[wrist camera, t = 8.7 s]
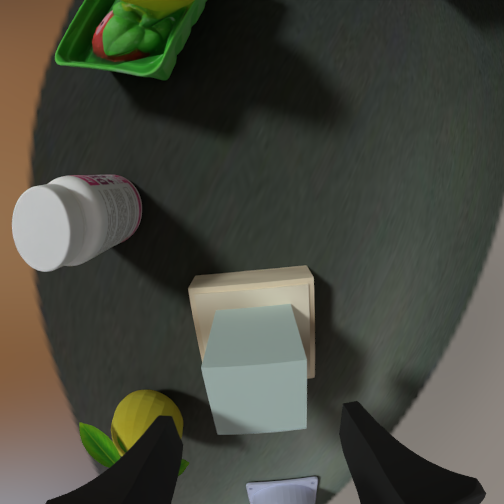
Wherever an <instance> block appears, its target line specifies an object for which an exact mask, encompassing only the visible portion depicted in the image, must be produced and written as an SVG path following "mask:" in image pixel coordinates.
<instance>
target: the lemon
mask: <svg viewBox="0 0 504 504" xmlns="http://www.w3.org/2000/svg"><path fill="white" fill-rule="evenodd" d="M159 415H162V416H172V417H173V420H174V423H175V426H176V428H177V431H178V433H179V436H180V438H181V437H182V432H183V418H182V416H181V413H180V411H179V408H178V407H177V406H176V405H175V403H174V402H173V401H172V400H171V399H170V398H168V397H167V396H166V395H164V394H162V393H160V392H157V391H154V390H138V391H135V392H132V393H130V394H129V395H127V396H126V397H125V398H124V399H123V400H122V401H121V402H120V403H119V405H118V406H117V408H116V411H115V414H114V417H113V420H112V425H111V434H112V439H113V442H112V441H111V440H110V439H109V437H108V436H107V435H105V434H104V433H103V432H101V431H100V430H98V429H97V428H95V427H94V426H91V425H87V424H83V423H79V424H80V436H81V440H82V443H83V445H84V447H85V448H86V450H87V451H88V453H89V454H90V455H91V456H92V457H93V458H94V459H95V460H96V461H98V462H99V463H101V464H102V465H104V466H106V467H109V468H110V467H111V466H112V465H113V464H115V463H116V462H117V461H118V460H119V459H120V455H121V456H123V455H124V454H125V453H126V452H127V451H128V450H129V449H130V448H131V447H132V446H133V445H134V444H135V443H136V441H137V440H138V439H139V438H140V437H141V436H142V435H143V433H144V432H145V431H146V430H147V429H148V427H149V426H150V425H151V424H152V423H153V421H154V420H155V419H156V418H157V417H158V416H159ZM119 454H120V455H119ZM188 465H189V462H187V461H186V460H184V459H182V460H181V466H180V470H179V474H178V476H179V475H181V474H182V473H183V472H184V470H185V469H186V467H187V466H188Z"/></svg>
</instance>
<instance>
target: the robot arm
mask: <svg viewBox="0 0 504 504" xmlns="http://www.w3.org/2000/svg"><path fill="white" fill-rule="evenodd" d="M339 435H340V439H341V444H342V448H343V453H344V456H345V459H346V461H347V464H348V467H349V470H350V473H351V475H352V478H353V481H354V483H355V486H356V489H357V492H358V495H359V499H360V503H361V504H480V503H481V502H482V501H483V499H484V498H485V495H486V492H485V491H484V489H483V487H482V485H481V484H480V483H479V481H478V480H477V479H476V478H473V477H469V476H465V475H461V474H458V473H455V472H452V471H449V470H447V469H444V468H442V467H440V466H438V465H436V464H433V463H431V462H429V461H427V460H426V459H424V458H422V457H420V456H419V455H417V454H416V453H414V452H413V451H411V450H409V449H408V448H407V447H405V446H404V445H402V444H401V443H400V442H399V441H398V440H396V439H395V438H394V437H393V436H392V435H390V434H389V433H388V432H387V431H386V430H385V429H384V428H383V427H382V426H381V425H380V424H379V423H378V422H377V421H376V420H375V419H374V418H373V417H372V416H371V415H370V414H369V413H368V412H367V411H366V410H365V409H364V408H363V406H362V405H361V404H360V403H359V402H358V401H354V402H349V403H344V404H343V409H342V417H341V425H340V433H339ZM182 450H183V444H182V441H181V438H180V436H179V433H178V431H177V428H176V426H175V423H174V420H173V417H172V416H162V415H159V416H158V417H157V418H156V419H155V420H154V421H153V423H152V424H151V425H150V426H149V427H148V429H147V430H146V431H145V432H144V433H143V435H142V436H141V437H140V438H139V439H138V440H137V441H136V443H135V444H134V445H133V446H132V447H131V448H130V449H129V450H128V451H127V452H126V453H125V454H124V455H123V456H122V457H121V458H120V459H119V460H118V461H117V462H116V463H115V464H113V465H112V466H111V467H110V468H109V469H107V470H106V471H105V472H103V473H102V474H101V475H99V476H98V477H96V478H95V479H93V480H92V481H90V482H88V483H87V484H85V485H83V486H81V487H80V488H78V489H76V490H74V491H71V492H69V493H67V494H65V495H62V496H59V497H56V498H54V499H51V500H48V501H47V502H46V504H171V501H172V497H173V493H174V490H175V486H176V482H177V478H178V474H179V470H180V466H181V460H182ZM317 484H318V478H317V477H307V478H299V479H291V480H281V481H269V482H252V483H247V484H246V488H247V492H248V496H249V500H250V503H251V504H315V500H316V492H317Z"/></svg>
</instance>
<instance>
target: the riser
mask: <svg viewBox="0 0 504 504" xmlns="http://www.w3.org/2000/svg"><path fill="white" fill-rule="evenodd" d="M188 292H189V297H190V303H191V308H192V314H193V319H194V324H195V329H196V334H197V339H198V344H199V349H200V354H201V358H202V363H203V359H204V355H205V351H206V347H207V343H208V339H209V335H210V331H211V327H212V323H213V319H214V315H215V312H216V310H226V309H239V308H251V307H262V306H273V305H283V304H291V307H292V310H293V314H294V317H295V321H296V324H297V327H298V331H299V334H300V338H301V341H302V345H303V348H304V351H305V355H306V358H307V379H309V378H315V306H314V277H313V275H312V274H311V272H310V270H309V269H308V267H307V265H304V266H294V267H284V268H274V269H264V270H253V271H242V272H231V273H220V274H208V275H197V276H195V277H194V279H193V281H192V282H191V284H190V286H189V288H188Z"/></svg>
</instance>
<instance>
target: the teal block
mask: <svg viewBox="0 0 504 504" xmlns="http://www.w3.org/2000/svg"><path fill="white" fill-rule="evenodd" d="M201 369H202V373H203V378H204V382H205V386H206V391H207V395H208V399H209V403H210V407H211V411H212V415H213V419H214V423H215V426H216V430H217V434H218V435H232V434H254V433H268V432H279V431H289V430H298V429H305V428H306V422H307V358H306V355H305V351H304V348H303V345H302V341H301V338H300V334H299V331H298V327H297V324H296V321H295V317H294V314H293V310H292V307H291V304H283V305H273V306H262V307H251V308H239V309H226V310H216V312H215V315H214V319H213V323H212V327H211V331H210V335H209V339H208V343H207V347H206V351H205V355H204V359H203V363H202V367H201Z"/></svg>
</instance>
